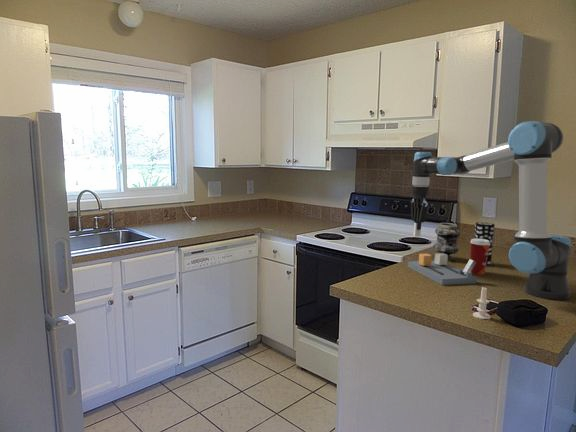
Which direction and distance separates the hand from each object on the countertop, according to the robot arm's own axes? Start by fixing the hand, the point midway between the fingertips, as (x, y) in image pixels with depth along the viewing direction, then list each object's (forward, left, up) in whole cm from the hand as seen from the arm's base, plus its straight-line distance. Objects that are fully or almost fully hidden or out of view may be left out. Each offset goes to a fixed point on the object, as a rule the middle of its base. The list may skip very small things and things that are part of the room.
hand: (416, 236), depth 194 cm
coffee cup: (-14, -23, -15) cm, 31 cm away
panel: (-14, -4, -15) cm, 21 cm away
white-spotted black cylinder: (-1, -35, -15) cm, 38 cm away
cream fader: (-8, -8, -11) cm, 16 cm away
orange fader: (-8, 0, -11) cm, 14 cm away
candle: (-60, +10, -15) cm, 63 cm away
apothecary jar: (+11, -23, -15) cm, 29 cm away
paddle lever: (-25, -9, -11) cm, 29 cm away
